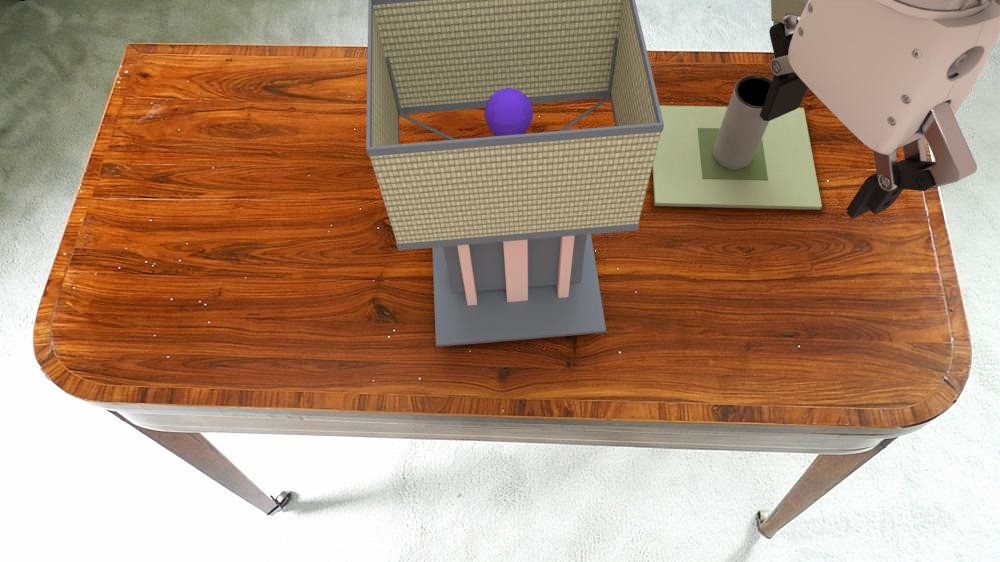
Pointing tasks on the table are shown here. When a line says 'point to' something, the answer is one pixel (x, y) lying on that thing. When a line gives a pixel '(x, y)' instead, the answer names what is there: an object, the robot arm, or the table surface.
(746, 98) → the gray hollow cylinder
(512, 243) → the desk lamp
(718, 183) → the mat
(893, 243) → the table surface
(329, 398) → the table surface
